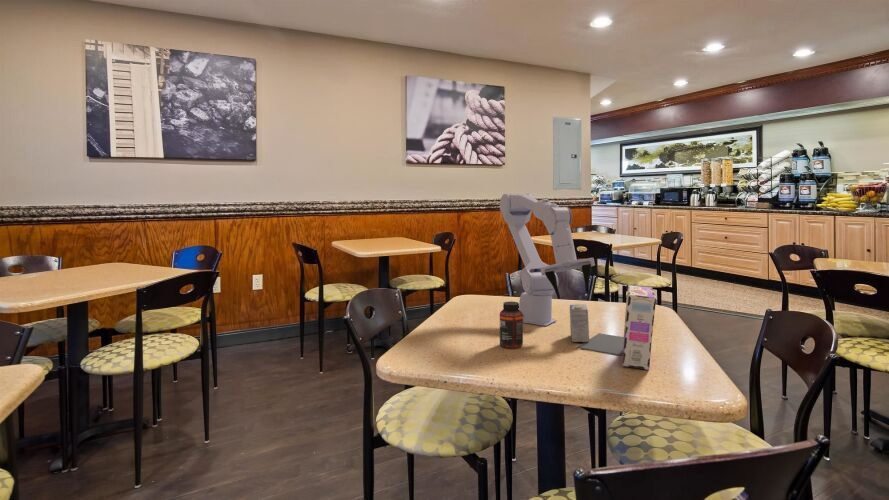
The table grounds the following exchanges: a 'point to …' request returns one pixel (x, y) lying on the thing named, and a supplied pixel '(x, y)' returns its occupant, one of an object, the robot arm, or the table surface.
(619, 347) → the mat
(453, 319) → the table surface
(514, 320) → the supplement bottle
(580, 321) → the medicine box
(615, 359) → the table surface
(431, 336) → the table surface
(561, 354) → the table surface
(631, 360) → the candy box
